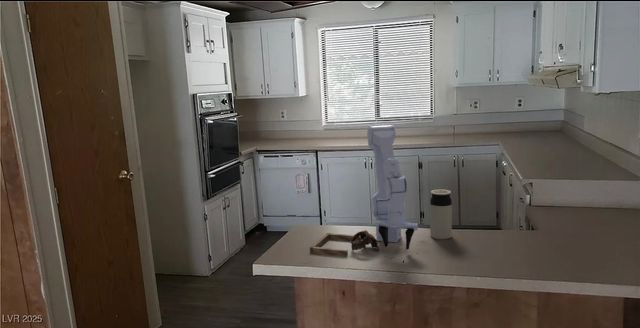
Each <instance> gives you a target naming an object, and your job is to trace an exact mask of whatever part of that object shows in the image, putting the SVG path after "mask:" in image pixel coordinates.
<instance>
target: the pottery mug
mask: <svg viewBox="0 0 640 328" xmlns="http://www.w3.org/2000/svg"><path fill="white" fill-rule="evenodd" d="M353 235H354V236H353V237H352V238H351V240H352V241H350V244H351V245H350V246H351V251H352V252H354V251H358V250H362V249H365V250H366V249H367V246H369V245H371V248H376V251H377V252H380V248H379V243H378V241H376V239H375V235H373V234H371V233H369V231H368V230H367V229H365V230H361V231H357V232H356V233H355V234H353ZM359 236H360V238H361V239H362V241H360V242H356V241H355V239H356V238H358V237H359Z"/></svg>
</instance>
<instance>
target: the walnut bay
mask: <svg viewBox="0 0 640 328" xmlns="http://www.w3.org/2000/svg"><path fill="white" fill-rule="evenodd" d="M354 235H355V234H342V233H331V232H327V233H326V234H324V235H323V236H322V237H321V238H319V239H318V240H317V241H315V242H314V243H313V244H312V245H311V246H310V247H309V253H311V254H319V255H327V256H337V257H348V256H349V255H348V253H349V252H348V249H339V248H330V247H322V246H323V245H324V244H326V243H327V242H328V241H329V240H336V241H337V240H338V241H346V242H351V241H352V240H351V238H352V237H353V236H354ZM360 241H362V239H361V238H360V236H359V237H358V238H356V239H355V241H354V242H355V243H358V242H360Z"/></svg>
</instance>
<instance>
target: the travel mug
mask: <svg viewBox="0 0 640 328" xmlns="http://www.w3.org/2000/svg"><path fill="white" fill-rule="evenodd" d="M451 193H452V191H451V190H448V189H444V188H443V189H442V188H441V189H440V188H439V189H433V190H431V191H430V194H431V197H430V200H429V201H430V202H429V205H430V206H429V207H430V208H429V210H430V211H429V212H430V213H429V214H430V215H429V216H430V217H429V218H430V219H429V220H430V223H429V225H430V228H429V229H430V231H429V232H430V234H429V235H430V237H432V238H433V239H436V240H448V239H450V238H452V236H453V235H452V230H453V229H452V228H453V227H452V221H453V219H452V218H453V217H452V214H453V213H452V212H453V211H452V208H453V207H452V200H453V199H452V198H451Z"/></svg>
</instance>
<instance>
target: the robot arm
mask: <svg viewBox="0 0 640 328" xmlns="http://www.w3.org/2000/svg"><path fill="white" fill-rule="evenodd" d="M396 134H397V133H396V128H395V126H394V125H393V124H390V125H389V124H387V125H385V124H384V125H369V126H368V128H367V132H366V135H367V144H368V148H369V149H371V150H372V152H373V154H374V155H373V156H374V166H375V167H374V168H375V176H376V177H375V178H376V188H377V189H376V190H377V191H376V192H375V193H374V194H373V195H372V196H371V198H370V200H371V203H370V208H371V210H370V211H371V214H372V216H373V217H375V235H374V237H375V239H376V241H377V242H378V241H379V242H383V245H384V248H388V246H389V243H398V242H399V240H400V239H401V238H402V229H403V230H405V232H404V233H405V249H406V250H407V251H408V250H409V249H410V246H411V240H412V237H413V235H414V233H415V231H418V229H419V225H418V224H419V223H416V222H415V223H414V222H410V221H409V222H408V221H406V219H405V218H406V215H405V210H406V209H405V202H406V201H405V194H406V193H407V191H408V190H407V189H408V183H407V179H406V177H405V175H404V174H403V173H402V170H401V166H400V163H399V160H398V159H396V158H395V154H394V152H395V151H394V148H393V147H394V146H393V144H394V141H395V139H396Z"/></svg>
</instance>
